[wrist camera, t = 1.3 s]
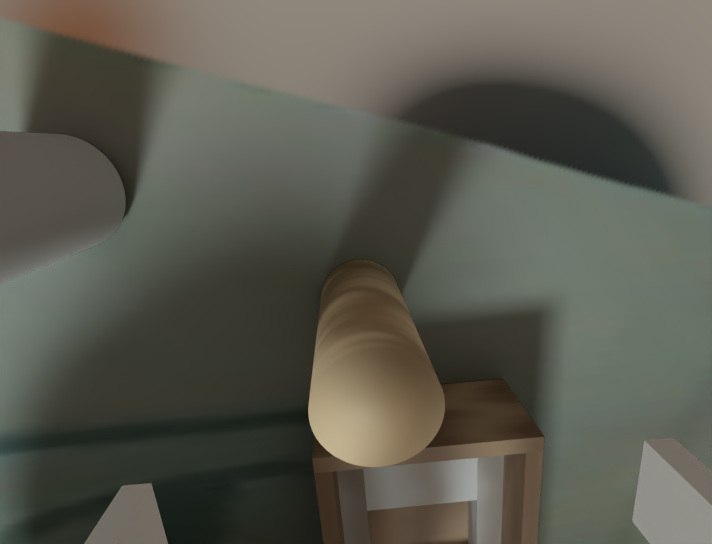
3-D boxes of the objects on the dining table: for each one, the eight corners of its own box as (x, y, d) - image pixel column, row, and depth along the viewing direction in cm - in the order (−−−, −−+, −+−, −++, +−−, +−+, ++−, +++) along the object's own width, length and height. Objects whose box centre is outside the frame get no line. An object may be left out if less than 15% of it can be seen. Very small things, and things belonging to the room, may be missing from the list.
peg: (325, 335, 27) (315, 472, 16) (317, 263, 26) (300, 355, 14) (400, 328, 27) (446, 460, 16) (396, 256, 26) (443, 342, 14)
